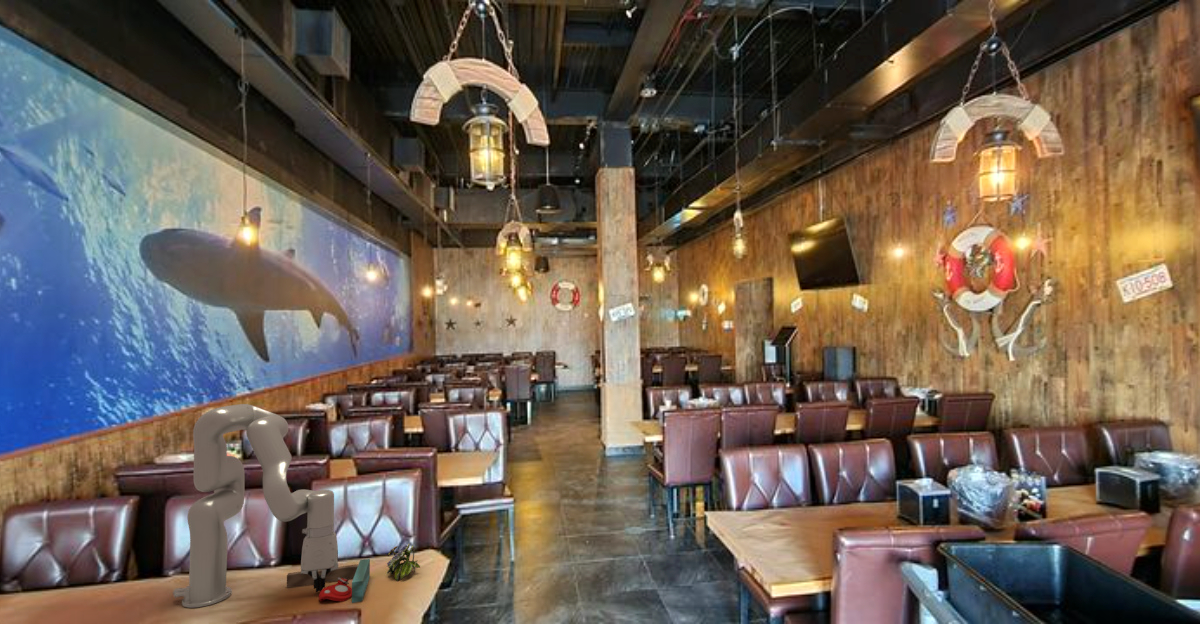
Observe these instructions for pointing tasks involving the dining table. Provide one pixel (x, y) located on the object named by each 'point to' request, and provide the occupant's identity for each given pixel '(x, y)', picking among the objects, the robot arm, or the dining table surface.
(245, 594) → the dining table surface
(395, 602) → the dining table surface
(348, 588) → the tracker holder
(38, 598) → the dining table surface
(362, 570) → the frame
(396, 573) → the passion flower
